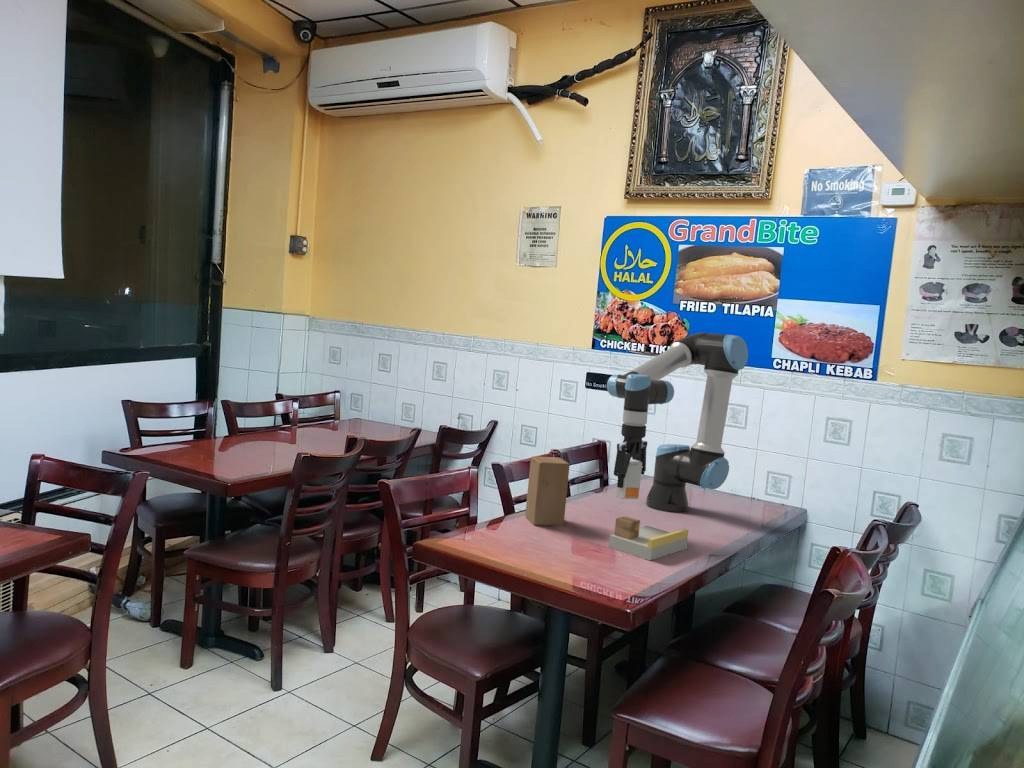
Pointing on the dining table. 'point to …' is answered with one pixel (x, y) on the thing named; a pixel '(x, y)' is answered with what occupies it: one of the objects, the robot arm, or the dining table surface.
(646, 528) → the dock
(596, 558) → the dining table surface
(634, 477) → the skincare box
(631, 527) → the tan wooden cube
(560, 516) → the wooden block
